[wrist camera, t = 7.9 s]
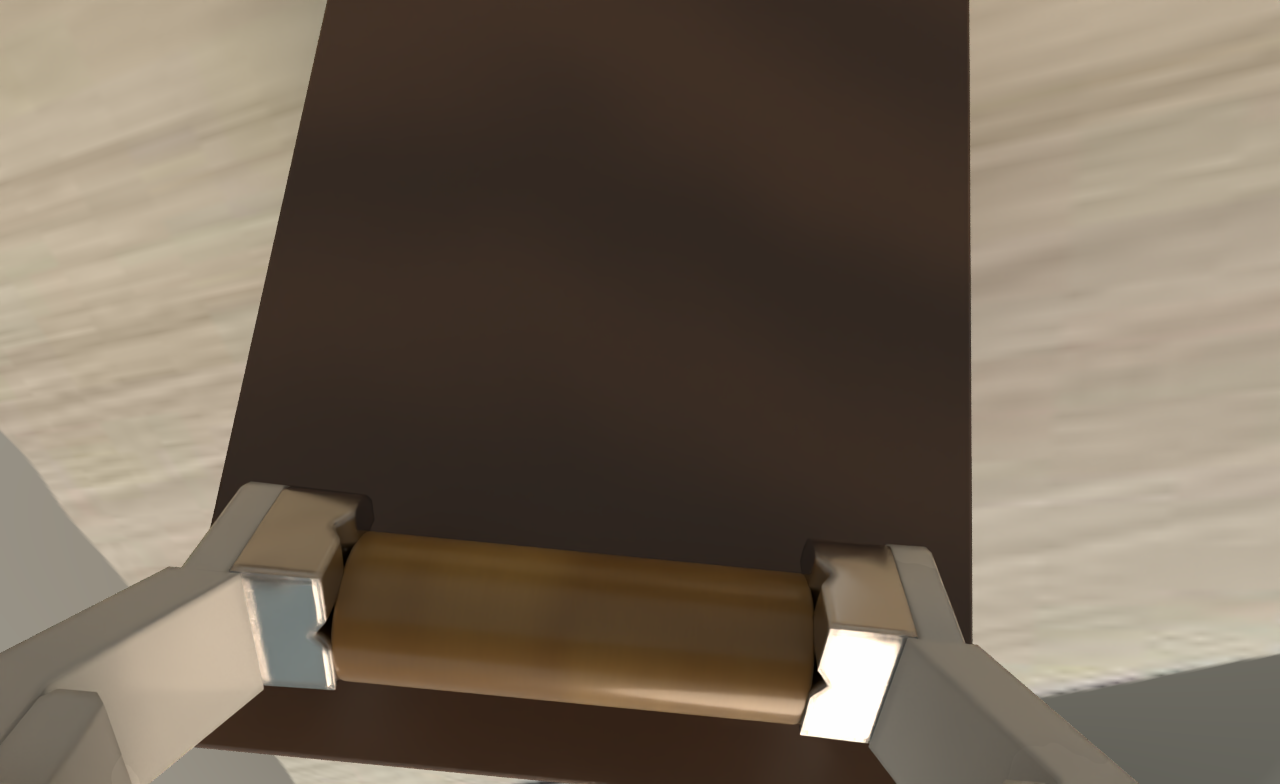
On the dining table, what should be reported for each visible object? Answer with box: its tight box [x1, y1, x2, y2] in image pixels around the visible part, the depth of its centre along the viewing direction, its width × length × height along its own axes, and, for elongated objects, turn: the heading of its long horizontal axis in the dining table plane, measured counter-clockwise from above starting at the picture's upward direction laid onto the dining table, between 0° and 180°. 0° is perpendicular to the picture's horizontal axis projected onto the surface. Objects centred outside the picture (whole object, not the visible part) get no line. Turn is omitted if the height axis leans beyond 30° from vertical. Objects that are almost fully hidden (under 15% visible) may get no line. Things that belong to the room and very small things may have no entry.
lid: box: [194, 0, 972, 784], centre depth 14 cm, size 18×13×5 cm
